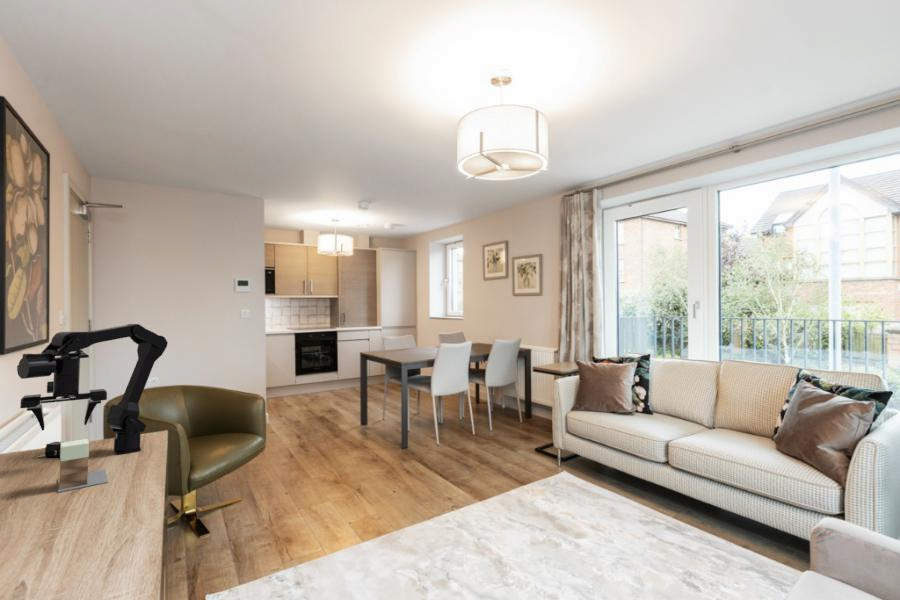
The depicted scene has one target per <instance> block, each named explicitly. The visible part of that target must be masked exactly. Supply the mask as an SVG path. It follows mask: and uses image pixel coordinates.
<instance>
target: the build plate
mask: <svg viewBox="0 0 900 600" xmlns="http://www.w3.org/2000/svg"><path fill="white" fill-rule="evenodd" d="M62 442H63V441H53V442H49V443H46V444H45V448H44V454H41V455H39V456H36V457H34V459H46V458H60V445H61V443H62Z"/></svg>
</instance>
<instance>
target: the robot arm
mask: <svg viewBox="0 0 900 600" xmlns="http://www.w3.org/2000/svg"><path fill="white" fill-rule="evenodd" d="M124 338H129V339H130V340H132V342H134V344H136V345H137V350H136V351H137V357H138V359H137V362H136V364H135V366H134V368H133V371H132V374H131V375H130V379H129V380H128V383H127V385H126V388H125V391H124V393H123V396H122V398H121V400H120V401H119V402H117V404H111V405H110V407H109V411H108V413H107V414H106V415H105V418H106V423H107V425H108V427H110V428H111V430H112V432H113V433H116V434H115V437H114V438H113V452H115V455H123V454H128V453H134V452H139V451H142V448H141V434H142V433H143V432H145V429H146V427H147V425H146V424H145V423H144V422H143V421H141V420H140V419H139V417H140V413H141V412H140V404H139V403H140V401H141V398H142V396H143V393H144V390H145V388H146V385H147V383H148V380H149V377H150V374H151V372H152V370H153V368H154V365H155V363H156V362H157V360H158V359H159V358H161V356H162V355H163V354H164V352H165V350H166V349H167V347H168V343H169V342H168V340H167V339H166V337H165V336H163V335H159V334H157V333H156V332H154V331H151V330H149V329H147V328H145V327H144V326H143V325H141V324H139V323H135V324H134V323H128V324H126V325H125V324H124V325H121V326H114V327H113V326H112V327H107V328H102V329H97V330H89V331H60V332H57V333H55V334H54V336H53V337H52V338H51V341H50V343H48V344H47V346H45V348H44V350H42V351H41V352H40V353H23V354H22V358H20V360H19V362H18V365H17V366H16V371H17V372H16V373H17V375H18V377H19V378H20V379H22V380H23V379H24V380H25V379H33V378H43V377H44V378H45V377H50V376H51V375H52V374H53V381H47V384H46V394H52V395H49V396H47V395H46V396H42V394H41V393H40V394H37V393H36V394H28V395H24V396H22V397H21V398H20V405H19V406H20V409H26V411H28V412H30V411H31V412H32V413H33V414H34V416H35V418H36V419H37V421H38V424H39V426H40V429H41V431H45V420H44V413H43V404H49V403H50V404H51V403H58V402H59V403H60V402H61V403H62V402H69V401H70V402H71V401H79V400H80V401H81V400H87V404H86V410H85V413H84V414H85V415H84V421H83V424H84V426H86V425H87V424H88V422H89V419H90V417H91V415H92V413H93V411H94V409H95V408H96V406H97V405H99V404H102V401H107V399H108V392H107V390H106V389H105V388H98V389H90V390H89V392H84V393H83V392H81V393H80V370H81V369H80V368H81V359H87V358H90V356H89V354H87V353H85V352H84V349H87V348H89V347H91V346H93V345H95V344H99V343H103V342H108V341H113V340H118V339H119V340H120V339H124Z"/></svg>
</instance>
